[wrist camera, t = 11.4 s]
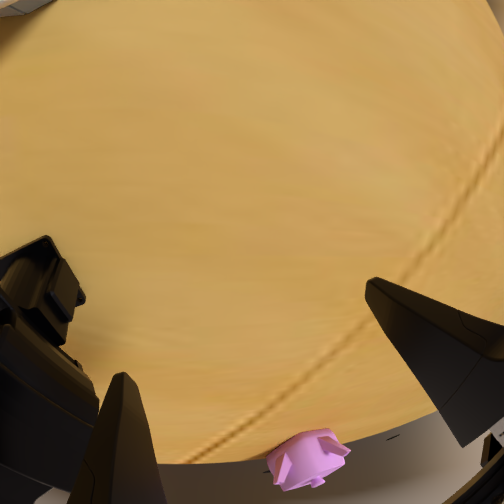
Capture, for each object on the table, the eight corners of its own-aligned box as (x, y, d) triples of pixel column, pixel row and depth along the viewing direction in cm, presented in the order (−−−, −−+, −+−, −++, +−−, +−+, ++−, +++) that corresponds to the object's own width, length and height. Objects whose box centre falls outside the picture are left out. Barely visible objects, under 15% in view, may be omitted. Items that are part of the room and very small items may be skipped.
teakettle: (269, 462, 61) (286, 501, 51) (257, 448, 51) (278, 497, 41) (329, 436, 64) (350, 473, 54) (332, 416, 54) (358, 461, 44)
